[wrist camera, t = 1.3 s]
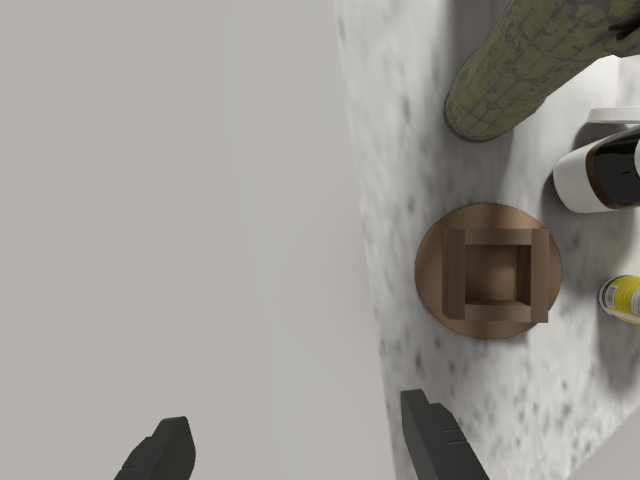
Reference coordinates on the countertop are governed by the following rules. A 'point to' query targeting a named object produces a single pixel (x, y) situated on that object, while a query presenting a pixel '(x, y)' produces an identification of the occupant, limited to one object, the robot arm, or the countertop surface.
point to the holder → (488, 271)
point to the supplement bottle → (622, 298)
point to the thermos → (535, 60)
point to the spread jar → (603, 167)
